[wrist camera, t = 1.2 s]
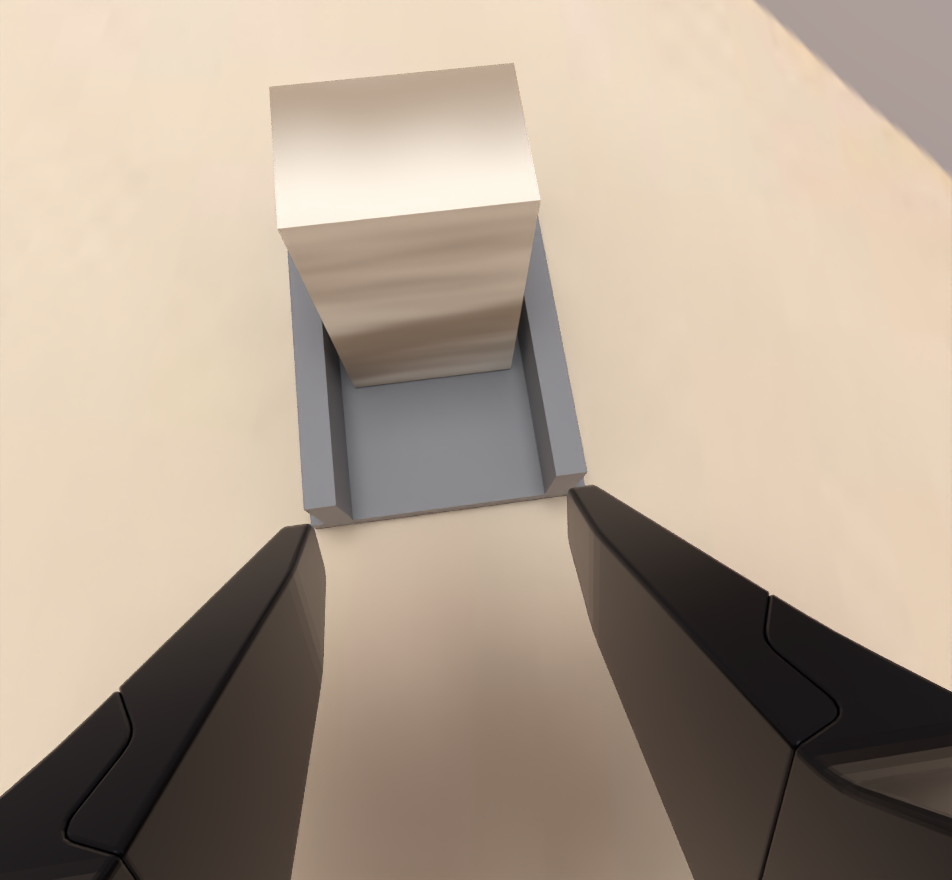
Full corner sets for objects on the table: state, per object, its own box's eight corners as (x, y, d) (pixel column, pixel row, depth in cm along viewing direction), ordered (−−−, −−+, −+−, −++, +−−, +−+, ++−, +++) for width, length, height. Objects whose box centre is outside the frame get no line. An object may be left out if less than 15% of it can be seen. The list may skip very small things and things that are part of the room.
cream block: (510, 368, 24) (540, 199, 14) (354, 387, 24) (277, 228, 14) (495, 277, 25) (513, 63, 15) (346, 294, 25) (269, 86, 15)
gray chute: (581, 493, 23) (602, 470, 20) (316, 528, 23) (288, 511, 19) (523, 182, 27) (531, 115, 24) (294, 207, 27) (267, 142, 23)
